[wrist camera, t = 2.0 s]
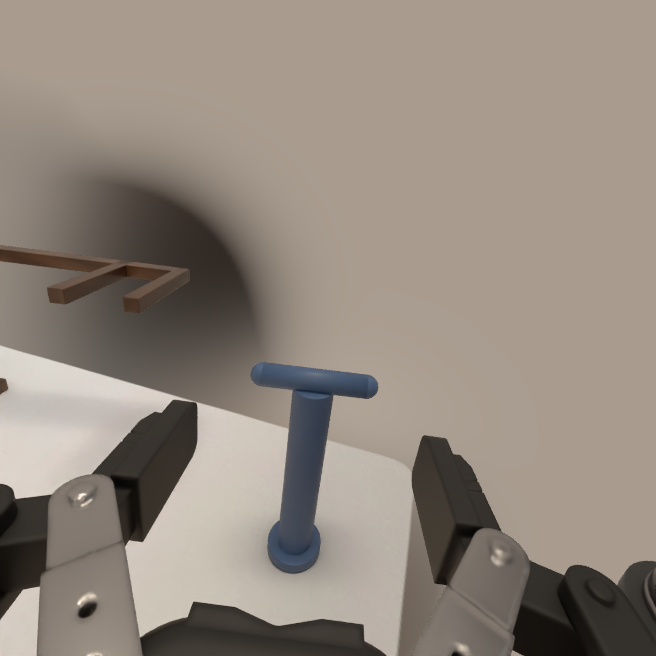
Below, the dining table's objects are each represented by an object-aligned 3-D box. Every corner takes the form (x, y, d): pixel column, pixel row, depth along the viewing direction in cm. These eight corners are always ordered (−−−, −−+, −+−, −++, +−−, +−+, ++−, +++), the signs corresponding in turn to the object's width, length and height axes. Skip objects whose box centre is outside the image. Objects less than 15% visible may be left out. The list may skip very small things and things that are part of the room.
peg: (344, 578, 28) (384, 396, 21) (236, 567, 28) (243, 379, 21) (343, 528, 32) (376, 362, 25) (249, 518, 32) (258, 347, 25)
